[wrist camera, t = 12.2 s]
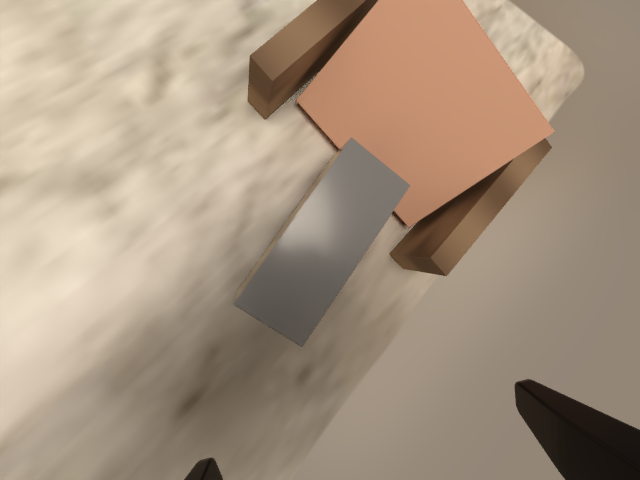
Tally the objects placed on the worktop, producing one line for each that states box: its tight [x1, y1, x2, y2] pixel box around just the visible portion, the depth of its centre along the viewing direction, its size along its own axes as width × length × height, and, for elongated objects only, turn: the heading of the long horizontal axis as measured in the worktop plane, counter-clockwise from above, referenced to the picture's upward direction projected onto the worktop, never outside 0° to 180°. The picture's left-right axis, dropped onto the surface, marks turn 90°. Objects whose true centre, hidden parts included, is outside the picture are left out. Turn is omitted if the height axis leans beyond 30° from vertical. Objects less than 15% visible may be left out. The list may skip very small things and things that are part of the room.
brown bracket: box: [248, 0, 552, 276], centre depth 20 cm, size 12×16×5 cm
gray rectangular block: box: [234, 137, 410, 347], centre depth 18 cm, size 4×4×11 cm
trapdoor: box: [296, 0, 554, 227], centre depth 20 cm, size 10×12×4 cm
